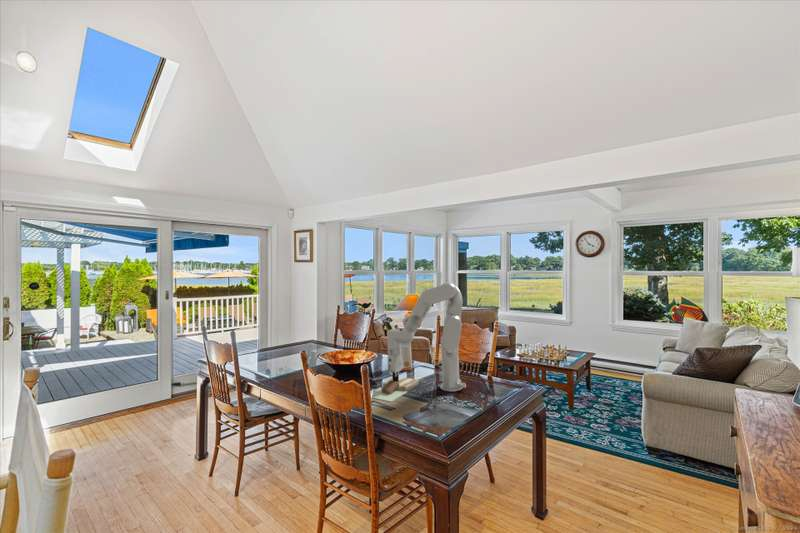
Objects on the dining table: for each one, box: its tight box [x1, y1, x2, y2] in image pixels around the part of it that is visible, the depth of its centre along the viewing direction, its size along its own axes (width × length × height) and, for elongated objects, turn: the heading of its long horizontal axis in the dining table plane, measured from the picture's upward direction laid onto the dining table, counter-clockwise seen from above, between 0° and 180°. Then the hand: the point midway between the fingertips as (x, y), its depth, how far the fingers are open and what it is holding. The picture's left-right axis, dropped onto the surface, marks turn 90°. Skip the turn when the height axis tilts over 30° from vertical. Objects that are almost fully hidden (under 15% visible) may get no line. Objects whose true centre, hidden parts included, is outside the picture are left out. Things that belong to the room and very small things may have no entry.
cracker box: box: [400, 341, 413, 372], centre depth 253 cm, size 14×6×21 cm, turn 84°
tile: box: [381, 379, 399, 394], centre depth 211 cm, size 6×9×2 cm, turn 147°
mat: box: [371, 386, 408, 403], centre depth 208 cm, size 18×16×1 cm
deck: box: [382, 376, 420, 392], centre depth 221 cm, size 16×14×2 cm
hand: (395, 382), depth 216 cm, fingers closed
